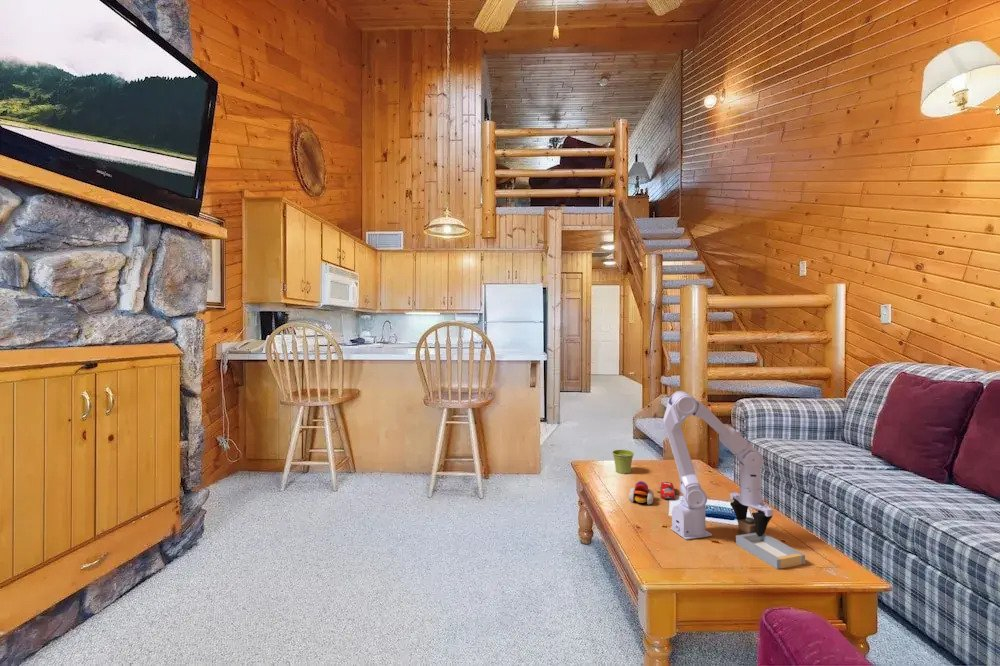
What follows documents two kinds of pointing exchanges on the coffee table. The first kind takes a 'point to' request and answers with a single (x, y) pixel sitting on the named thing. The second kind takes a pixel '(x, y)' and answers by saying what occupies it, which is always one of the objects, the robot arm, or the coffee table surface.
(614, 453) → the plant pot
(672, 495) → the race car
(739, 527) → the block with grey knob
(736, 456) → the robot arm
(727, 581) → the coffee table surface
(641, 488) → the rainbow flower
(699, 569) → the coffee table surface
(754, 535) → the tray
